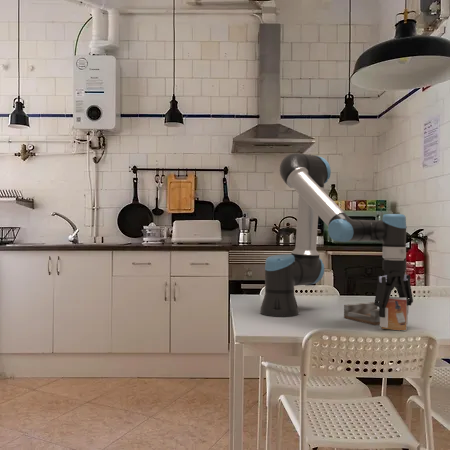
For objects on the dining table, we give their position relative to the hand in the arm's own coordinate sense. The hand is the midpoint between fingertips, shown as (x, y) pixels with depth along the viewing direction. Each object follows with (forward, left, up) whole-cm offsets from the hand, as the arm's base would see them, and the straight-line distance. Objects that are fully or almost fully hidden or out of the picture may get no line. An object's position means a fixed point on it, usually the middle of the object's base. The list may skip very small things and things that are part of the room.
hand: (393, 325), depth 153 cm
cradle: (+7, +15, -1) cm, 17 cm away
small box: (0, 0, -1) cm, 1 cm away
